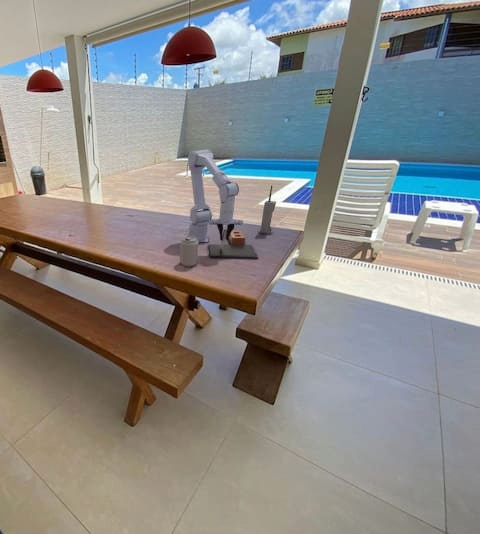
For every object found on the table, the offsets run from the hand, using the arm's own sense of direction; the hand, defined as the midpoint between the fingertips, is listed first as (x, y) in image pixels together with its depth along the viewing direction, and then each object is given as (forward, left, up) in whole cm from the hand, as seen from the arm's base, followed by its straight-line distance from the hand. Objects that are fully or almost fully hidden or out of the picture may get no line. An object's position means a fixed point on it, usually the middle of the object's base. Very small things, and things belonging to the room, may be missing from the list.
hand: (223, 239), depth 142 cm
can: (-16, -14, -6) cm, 22 cm away
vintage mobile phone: (+25, +28, -6) cm, 38 cm away
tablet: (+4, 0, -6) cm, 7 cm away
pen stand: (+8, +14, -6) cm, 17 cm away
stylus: (-1, 0, -5) cm, 5 cm away
